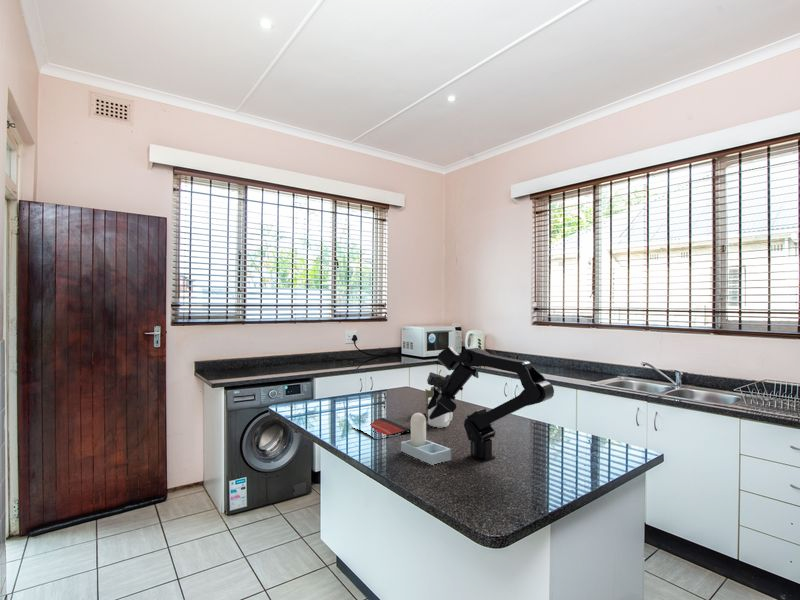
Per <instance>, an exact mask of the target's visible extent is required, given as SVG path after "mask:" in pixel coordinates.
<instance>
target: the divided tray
mask: <svg viewBox="0 0 800 600" xmlns="http://www.w3.org/2000/svg"><path fill="white" fill-rule="evenodd" d="M401 451H403V452H405V453H407V454H409V455H411V456H413V457H415V458H418V459H420V460H422V461H424V462H427V463H429V464H431V465H433V466H435V465H434V464H437V463H440V464H442V463H441V462H443V463H446V462H449V461H452V448H449V447H446V446H444V445H441V444H438V443H435V442H433V441H431V440H427V439H426V445H424V446H421V447H417V448H416V447H414V446H411V439H408V440H404V441H401V442H400V452H401ZM415 458H414V459H415ZM422 461H421V462H422ZM445 461H446V462H445ZM424 462H423V463H424ZM429 464H428V465H429ZM431 465H430V466H431ZM437 465H438V464H437Z"/></svg>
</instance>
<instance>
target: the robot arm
mask: <svg viewBox="0 0 800 600" xmlns="http://www.w3.org/2000/svg"><path fill="white" fill-rule="evenodd" d="M436 359H437V361H438V362H439V363H441V364H442V365H443V366H444V367H445V369H446V370H448V371H452V372H451V373H450V374H446V375H445V376H443V375H441V374H437V373H435V372H429V374H428V376H427V379H426V382H427V384H428V385H429V386H432V387H433V395H432V397H431V400H430V402H429V404H428V406H427V409H431V408H433V407H434V406H435V408H434V410H433V411H432V413H431V414H430V416H429V419H431V420H432V419H434V418H436V417H439V416H441V415H443V414H446V413H449V412H453V413H454V411H455V410H456V409H457V403H456V400H455V399H456V395H457V394H458V393H459V392H460V391H461V392H462V391H463V390H464V386H465V385H466V384H467V382H468V381H469V380H470V378H471V377H472V376H473V377H474V378H476V379H479V369H477V368H476V367H487V368H490V369H491V368H492V369H496V370H501V371H504V372H510V373H514V374H517V376H518V378H519V381H520V383H521V386H522V388H523V390H522V391H521V392H520V393H519V394H518V395H517V396H515V397H512V398H511V399H509V400H508V401H506V402H503V403H501V404H500V405H498V406H496V407H494V408H492V409H490V410H488V411H487V408H482V409H478V410H476V411H475V410H474V412H472V413H471V414H467V415H466V417H467V418H465V419H464V421H463V422H464V423H463V427H464V430H465V433H466V437H467V439H468V441H470V454H468V455H467V457H468V458H470V459H473V460H476V461H478V462H481V463H484V462H487V461H490V460H493V459H495V458H496V456H495V455H494V454H493V440H492V438H495V435H496V430H495V429H494V428H493V426H494V424H495V422H497V421H499V420H500V419H503V418H505V417H507V416H509V415H511V414H513V413H516V412H517V411H519V410H522V409H523V408H525V407H529V406H532V405H536V404H540V403H543V402H546V401H548V400H551V399H552V398H553V396H554V394H555V389H554V386H553V385H552V383H550V382H549V381H547V379H546V378H545V376H544V375H543V374H542V373H541V372H539V371H538V370H537V368H535V366H534V365H533V364H532V363H531V362H530V361H529V360H521V359H516V358H511V357H506V356H501V355H496V354H495V355H494V354H491V353H490V352H488V351H487V350H484V349H482V348H479V347H471V348H465V349H464V350H462V352H461V353H458V352H457V351H456V350H455V349H454V348H453V346H451V345H447V346H446V347H445V348H444V349H442V350H441V352H439V353H438V354H437V356H436ZM473 367H475V368H473Z"/></svg>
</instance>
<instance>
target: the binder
mask: <svg viewBox="0 0 800 600" xmlns="http://www.w3.org/2000/svg"><path fill="white" fill-rule="evenodd" d="M373 420H374V422H373V423H371V424H370V425H371V426H372V428H374V429H375V430H377V432H380V433H383V434H386V435H387V436H389V435H395V434H398V433H402V432H405V433H407V432H406V431H409V432H411V428H408V427H405V426H404V425H402V424H399V423H396V422H393V421H391V420H389V419H387V418H385V417H381V418H377V419H373ZM373 432H374V431H373ZM375 433H376V432H375Z"/></svg>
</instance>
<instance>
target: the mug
mask: <svg viewBox="0 0 800 600" xmlns="http://www.w3.org/2000/svg"><path fill="white" fill-rule="evenodd" d="M430 400H431V397H430V398H428V404H429V402H430ZM434 408H435V406H434V407H433V408H431V409H428V417H427V424H428V425H429V426H430V427H431V426H433V427H432V428H434V427H437V428H436V429H444V428H443V427H445V428H447V427H448V426H449V424H450V422H451V421H452V420H453V416H454V414H453V413H454V412H450V417H449V413H446V414H443V415H441V416H439V417H436V418H434V419H432V420H431V419H429V416H430V414H431V413H432V411H433V410H434Z"/></svg>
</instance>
